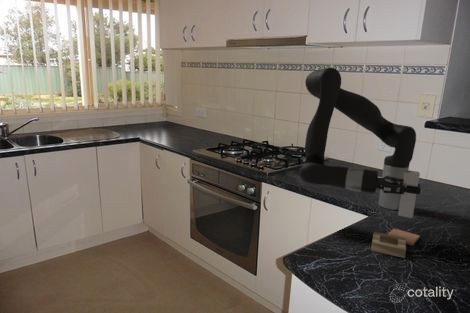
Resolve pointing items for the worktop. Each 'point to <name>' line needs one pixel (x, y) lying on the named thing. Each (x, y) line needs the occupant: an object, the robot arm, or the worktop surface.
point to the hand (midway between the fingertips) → (419, 189)
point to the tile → (405, 236)
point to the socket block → (389, 244)
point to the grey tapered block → (408, 194)
